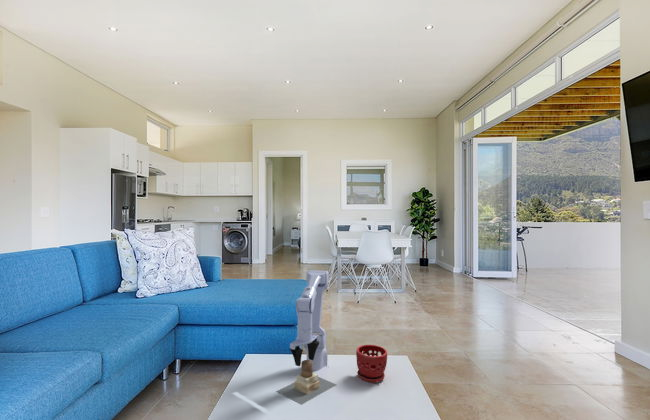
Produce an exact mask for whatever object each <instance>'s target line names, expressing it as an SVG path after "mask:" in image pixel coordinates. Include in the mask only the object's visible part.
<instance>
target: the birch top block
mask: <svg viewBox="0 0 650 420" xmlns="http://www.w3.org/2000/svg"><path fill="white" fill-rule="evenodd" d="M318 377H319V374H316V373H315V372H313V375H312V376H311V377H309V378H305V377H302V376H301V373H298V374H297V375H296V382H298V383H300V384H302V385H305V386H307V387H308V386H310V385H312V384H314V383H316V382H317V381H318Z"/></svg>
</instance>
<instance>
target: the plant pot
mask: <svg viewBox="0 0 650 420" xmlns="http://www.w3.org/2000/svg"><path fill="white" fill-rule="evenodd" d="M370 351H371V352H370ZM355 352H356V353H355V354H356V366H357V369H358V370H357V371H356V373H357V376H358V378H359V379H360V380H362V381H363V382H366V383H367V382H368V383H375V384H376V383H379V382H381V381H383V380H384V378H385V376H386V375H385V370H386V368H387V364H388V351H387V349H386V348H384V347H383V346H379V345H376V344H362V345H359V346H358V347H357V348H356V351H355ZM379 353H380V355H379Z"/></svg>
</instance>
